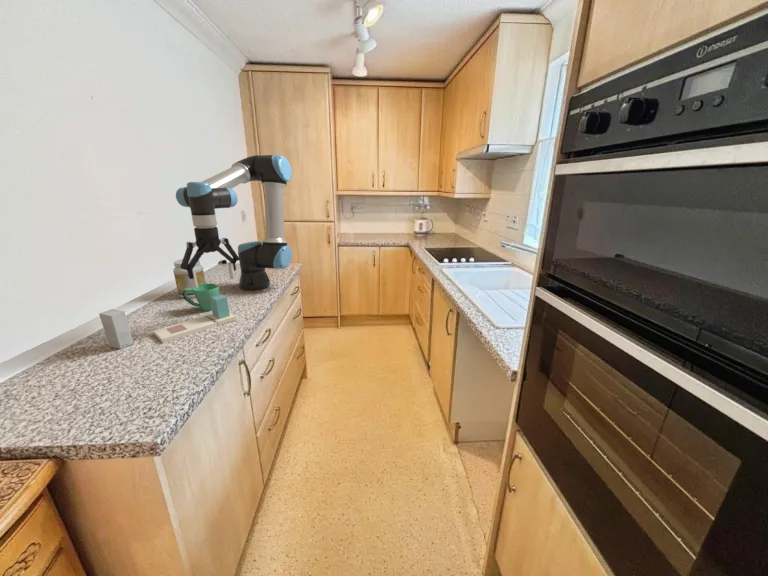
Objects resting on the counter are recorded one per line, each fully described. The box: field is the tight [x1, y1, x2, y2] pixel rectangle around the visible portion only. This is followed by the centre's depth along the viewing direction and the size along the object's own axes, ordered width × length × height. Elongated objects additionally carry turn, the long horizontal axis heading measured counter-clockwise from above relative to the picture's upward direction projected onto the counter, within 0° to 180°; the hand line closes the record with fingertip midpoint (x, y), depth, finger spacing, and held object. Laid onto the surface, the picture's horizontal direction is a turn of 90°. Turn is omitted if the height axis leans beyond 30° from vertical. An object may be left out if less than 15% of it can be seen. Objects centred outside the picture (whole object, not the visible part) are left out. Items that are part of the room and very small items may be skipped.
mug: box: [182, 283, 220, 312], centre depth 134 cm, size 15×10×10 cm
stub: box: [206, 293, 237, 326], centre depth 124 cm, size 7×10×10 cm
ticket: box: [152, 315, 219, 344], centre depth 116 cm, size 18×10×2 cm, turn 139°
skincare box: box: [98, 308, 134, 350], centre depth 104 cm, size 6×4×12 cm
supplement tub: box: [172, 257, 207, 299], centre depth 150 cm, size 12×12×17 cm
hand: (215, 282), depth 121 cm, fingers open, 13 cm apart
